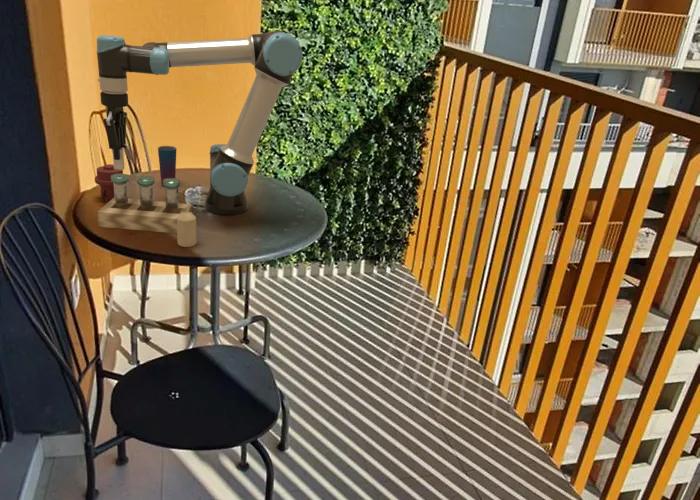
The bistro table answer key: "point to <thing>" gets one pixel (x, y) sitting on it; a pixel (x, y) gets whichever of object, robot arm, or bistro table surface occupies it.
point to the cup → (167, 162)
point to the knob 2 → (171, 192)
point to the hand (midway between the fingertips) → (119, 168)
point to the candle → (186, 229)
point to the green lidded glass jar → (146, 190)
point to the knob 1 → (120, 187)
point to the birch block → (141, 216)
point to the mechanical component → (106, 180)
